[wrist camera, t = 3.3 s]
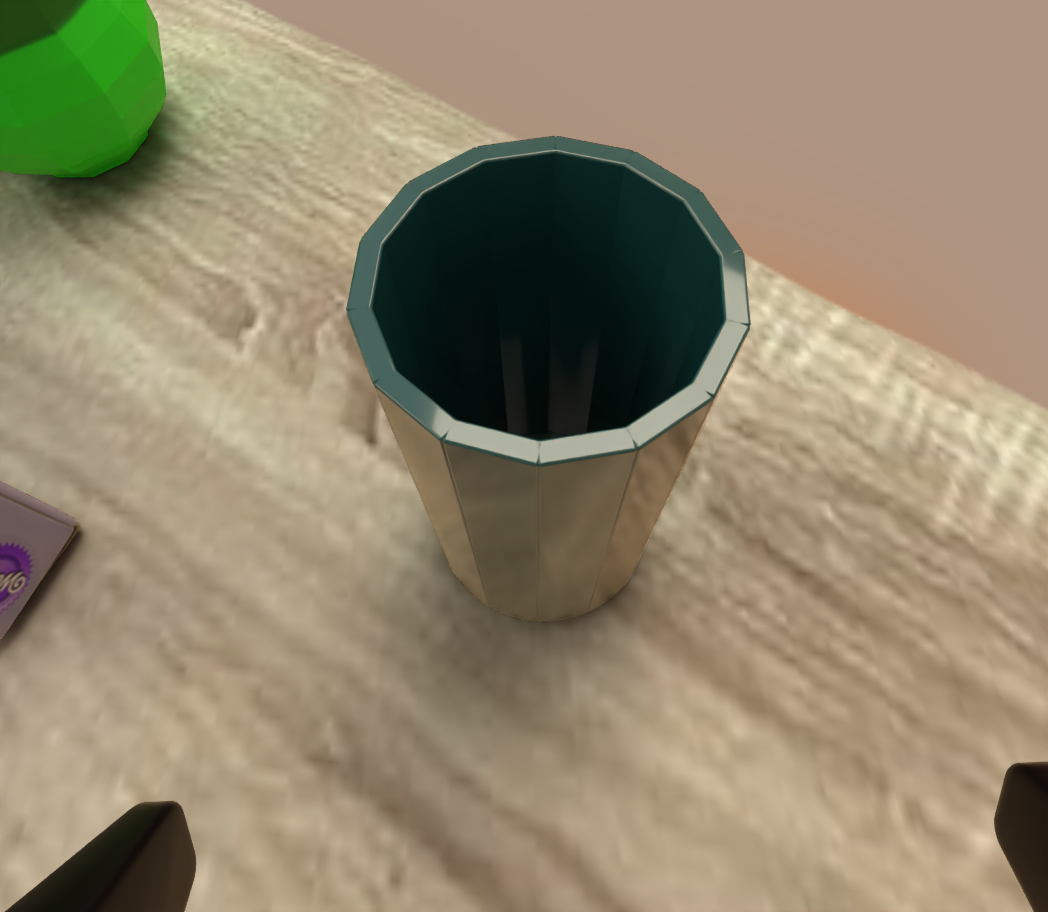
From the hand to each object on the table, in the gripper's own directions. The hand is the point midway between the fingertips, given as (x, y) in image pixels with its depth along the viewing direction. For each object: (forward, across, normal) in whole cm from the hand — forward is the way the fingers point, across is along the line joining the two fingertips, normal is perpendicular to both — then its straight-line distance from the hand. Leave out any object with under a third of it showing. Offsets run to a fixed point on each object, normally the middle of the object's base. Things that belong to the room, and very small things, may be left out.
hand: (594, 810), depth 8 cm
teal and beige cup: (+15, 0, +4) cm, 16 cm away
